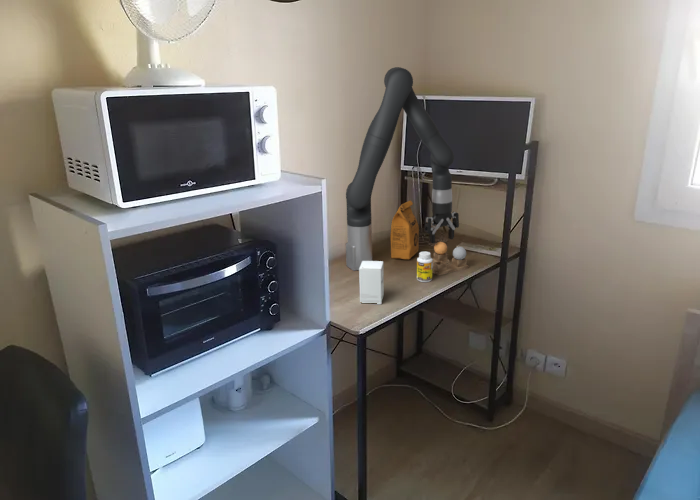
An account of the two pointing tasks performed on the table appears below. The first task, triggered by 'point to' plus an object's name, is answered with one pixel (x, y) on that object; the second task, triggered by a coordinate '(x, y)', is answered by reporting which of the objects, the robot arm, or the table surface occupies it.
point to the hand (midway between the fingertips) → (441, 240)
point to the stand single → (440, 257)
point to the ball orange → (440, 248)
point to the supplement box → (371, 282)
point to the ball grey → (459, 253)
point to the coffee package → (404, 233)
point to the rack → (449, 266)
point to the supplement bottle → (424, 267)
